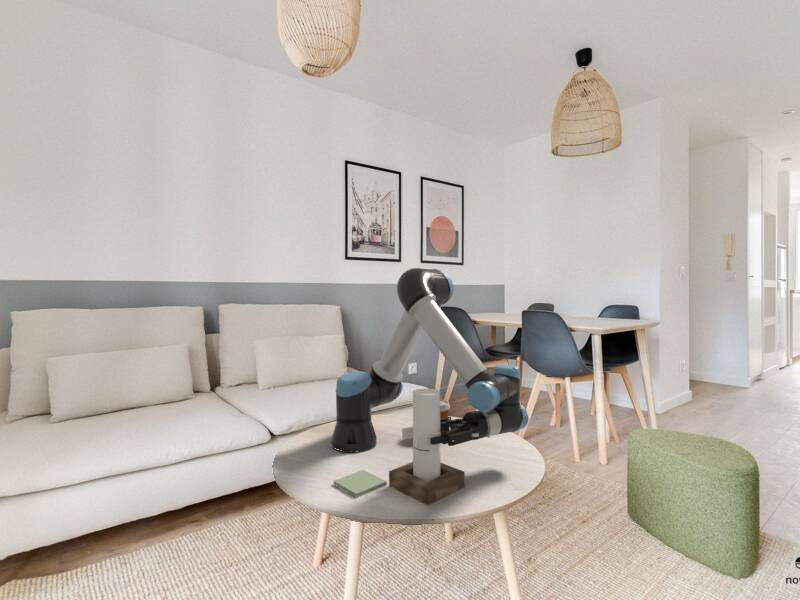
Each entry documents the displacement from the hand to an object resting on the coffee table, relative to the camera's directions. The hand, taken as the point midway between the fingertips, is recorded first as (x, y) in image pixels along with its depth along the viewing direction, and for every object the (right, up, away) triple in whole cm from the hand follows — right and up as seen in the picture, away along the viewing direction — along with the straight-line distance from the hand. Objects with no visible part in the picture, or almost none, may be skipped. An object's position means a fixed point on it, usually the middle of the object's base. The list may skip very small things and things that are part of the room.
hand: (410, 437), depth 108 cm
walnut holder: (+4, -14, +3) cm, 15 cm away
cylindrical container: (+4, -14, +3) cm, 15 cm away
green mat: (-13, -14, +4) cm, 19 cm away
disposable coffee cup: (+10, -13, +41) cm, 45 cm away
